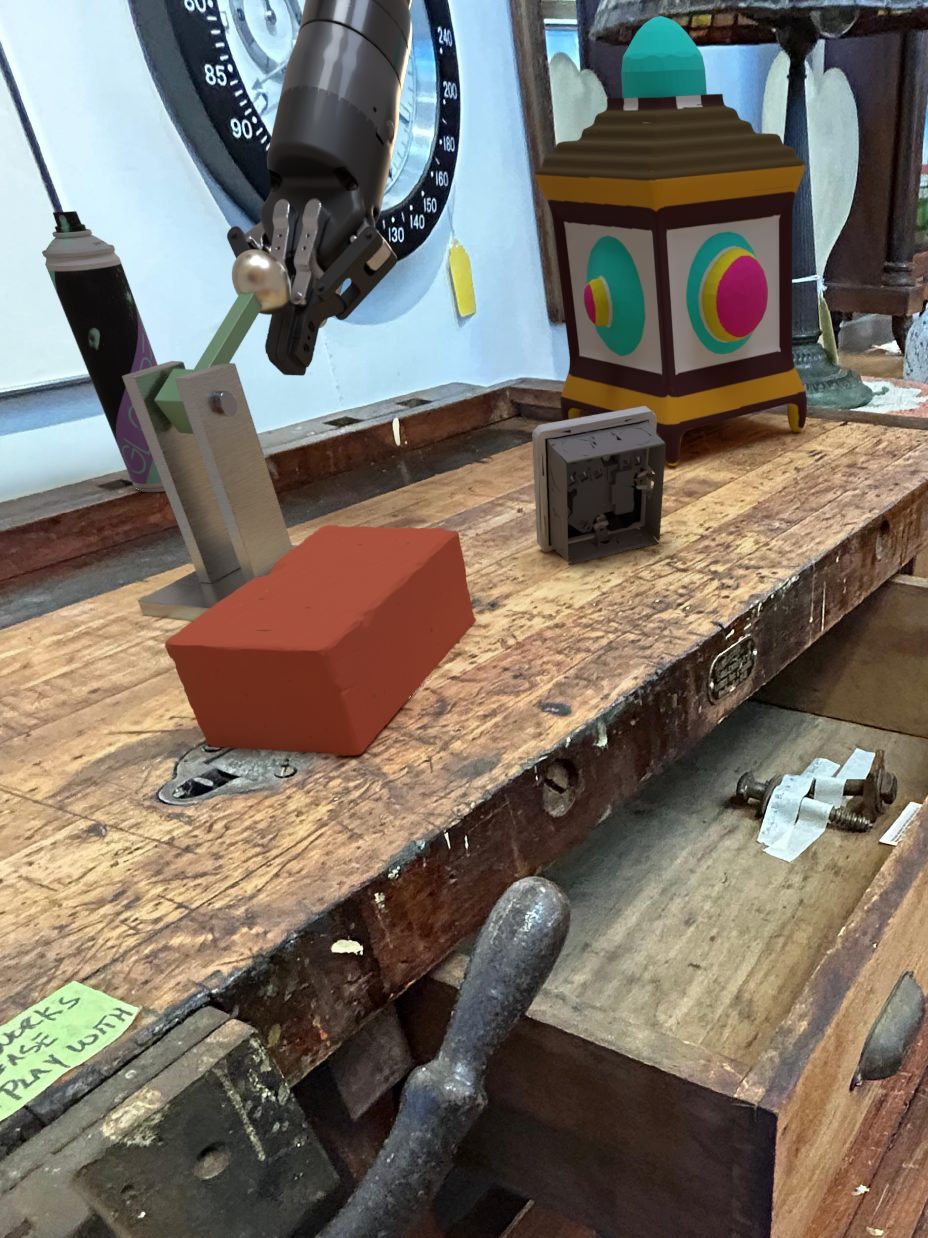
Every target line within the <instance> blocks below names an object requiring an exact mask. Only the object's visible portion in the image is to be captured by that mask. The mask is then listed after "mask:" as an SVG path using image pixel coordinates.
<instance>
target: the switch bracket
mask: <svg viewBox="0 0 928 1238" xmlns="http://www.w3.org/2000/svg"><path fill="white" fill-rule="evenodd" d="M173 369H187V368H186V365H185V363H184V361H181V360H180V361H179V360H170V361H166V362H164V363H163V362H162V363H159V364H158V365H156V366H153V367H150V368H147V369H143V370H140V371H137V372H133V373H130V374H127V375H123V376H122V378H123V381H124V383H125V386H126V388H127V391H128V394H129V396H130V399H131V402H132V404H133V407H134V410H135V412H136V415H137V418H138V420H139V423H140V425H141V428H142V431H143V433H144V436H145V439H146V441H147V444H148V447H149V449H150V452H151V454H152V457H153V460H154V462H155V465H156V468H157V470H158V473H159V476H160V478H161V481H162V483H163V486H164V489H165V491H164V492H165V495H166V497H167V499H168V502H169V505H170V507H171V509H172V513H173V515H174V517H175V520H176V524H177V526H178V528H179V531H180V534H181V536H182V540H183V541H184V544H185V546H186V550H187V553H188V555H189V557H190V559H191V563H192V566H193V567H194V571H192V572H191V573H188V574H186V575H184V576H182V577H181V578H179V579H177V580H175V581H173V582H170V583H169V584H167V585H165V586H163V587H161V588H159V589H157V590H156V591H154V592H152V593H150V594H148V595H146V596H144V597H142V598H140V599H139V600H137V603H138V605H139V608H140V610H141V612H142V615H143V616H147V617H156V618H164V619H173V620H181V621H188V622H189V621H191V622H192V621H194V620H195V619H196V618H198V617H199V616H200V615H202V614H203V613H204V612H206V611H207V610H209V609H210V608H211V607H213V606H214V605H215V604H217V603H218V602H220V601H221V600H223V599H224V598H226V597H227V596H229V595H230V594H232V593H233V592H235V591H236V590H237V589H239V588H241V587H242V586H243V585H245V584H246V583H247V582H249V581H251V580H252V579H254V578H259V577H263V576H267V575H269V574H270V573H271V571H272V568H273V566H274V565H275V564H276V563H277V562H278V560H279V559H281V558H282V557H283V556H285V555H286V554H287V553H288V552H290V551H291V550H293V549H294V548H295V547H297V546H298V545H295V544H292V541H291V538H290V535H289V531H288V529H287V526H286V521H285V519H284V516H283V513H282V509H281V506H280V503H279V499H278V496H277V493H276V490H275V487H274V483H273V480H272V477H271V474H270V471H269V468H268V463H267V461H266V457H265V455H264V451H263V449H262V448H263V447H262V445H261V442H260V439H259V436H258V433H257V430H256V426H255V422H254V420H253V417H252V413H251V410H250V407H249V404H248V400H247V397H246V394H245V391H244V388H243V384H242V381H241V377H240V375H239V372H238V368H237V364H236V363H235V362H230V363H220V364H217V365H214V366H211V367H208V368H205V369H202V370H199V371H195V372H192V373H189V374H186V375H183V376H180V377H177V378H175V381H176V384H177V387H178V390H179V393H180V396H181V399H182V401H183V404H184V407H185V410H186V413H187V416H188V419H189V422H190V424H191V427H192V430H193V433H194V434H186V433H179V432H178V431H177V429H176V428H175V427H174V426H173V424H172V423H171V422H170V420H169V419H168V418H167V416H166V415H165V414H164V413H163V411H162V410H161V409H160V407H159V406H158V405H157V404H156V402H155V401H154V400H155V398H156V396H157V395H158V393H159V391H160V390H161V388H162V387H163V385H164V383H165V382H166V380H167V378H168V377H169V375H170V374H171V372H172V370H173Z"/></svg>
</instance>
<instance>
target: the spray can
mask: <svg viewBox="0 0 928 1238" xmlns="http://www.w3.org/2000/svg"><path fill="white" fill-rule="evenodd" d="M52 215H53V218H54V221H55V225H56V226H54V230H55V231H52V236H53V237H54V238H53V239H52V240H51V241H50V243H49V244H48V246H47V247H46V248H45V249H44V250H42V251H41V253H42V257H44V258H45V263H44V265H45V268H46V270H47V272H48V275H49V277H50V280H51V282H52V285H53V288H54V290H55V293H56V295H57V297H58V299H59V302H60V306H61V307H62V310H63V312H64V315H65V317H66V320H67V324H68V325H69V327H70V330H71V333H72V335H73V337H74V341H75V343H76V345H77V348H78V350H79V352H80V355H81V358H82V361H83V363H84V366H85V368H86V371H87V373H88V375H89V378H90V380H91V383H92V385H93V388H94V390H95V393H96V396H97V398H98V401H99V403H100V405H101V408H102V411H103V413H104V415H105V418H106V420H107V423H108V426H109V428H110V430H111V433H112V435H113V438H114V440H115V443H116V445H117V448H118V450H119V454H120V456H121V458H122V461H123V463H124V466H125V469H126V471H127V473H128V476H129V478H130V481H131V483H132V485H133V488H134V487H135V488H137V489H139V490H141V491H142V493H162V492H164V493H165V492H166V491H165V489H164V486H163V483H162V481H161V478H160V476H159V473H158V470H157V468H156V465H155V462H154V460H153V457H152V454H151V452H150V449H149V447H148V444H147V441H146V439H145V436H144V433H143V431H142V428H141V425H140V423H139V420H138V418H137V415H136V412H135V410H134V407H133V404H132V402H131V399H130V396H129V394H128V391H127V388H126V386H125V383H124V381H123V378H122V376H123V375H127V374H130V373H133V372H137V371H140V370H143V369H147V368H150V367H153V366H156V365H159V364H158V362H157V361H158V360H157V359H156V356H155V353H154V351H153V348H152V345H151V342H150V339H149V336H148V334H147V330H146V328H145V325H144V322H143V319H142V317H141V314H140V312H139V309H138V305H137V303H136V300H135V297H134V294H133V292H132V289H131V286H130V283H129V280H128V278H127V275H126V272H125V270H124V267H123V264H122V261H121V259H120V257H119V256H118V255H117V253H116V249H115V248H116V247H115V245H113V244H109V243H108V242H106V241H104V240H102V239H101V238H99V237H97V236H96V235H93V232H92V229H90V228H87V227H86V224H83V223H82V221H81V219H80V217H79V214H78V212H77V211H76V210H74V211H73V210H72V211H53V212H52ZM135 488H134V489H135ZM141 491H140V492H141Z"/></svg>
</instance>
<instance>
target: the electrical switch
mask: <svg viewBox="0 0 928 1238" xmlns="http://www.w3.org/2000/svg"><path fill="white" fill-rule="evenodd" d="M656 426H657V417H656V415H655V414H654V412H652V411H651V410H650V409H648V408H647V407H646V406H642V407H637V408H631V409H626V410H620V411H614V412H609V413H603V414H593V415H587V416H581V418H575V419H570V420H564V421H563V420H559V421H554V422H548V423H542V424H538V425H537V426H536V428H534V430H533V432H532V434H531V437H532V438H531V439H532V440H531V441H532V459H533V460H532V461H533V463H532V464H533V481H534V485H533V486H534V503H535V505H534V506H535V527H536V543H537V544H538V546H539V547H540V549H541V551H542V552H543V553H548V552H552V551H555V552H556V554H558V555H560V556H561V557H562V558H563V560H565V561H566V562H567V563H568V565H574V564H578V563H582V562H586V561H590V560H595V559H598V558H602V557H607V556H611V554H612V555H615V554H614V553H616V554H619V553H624V552H626V551H625V550H628V551H632V549H633V550H636V548H637V549H641V548H644V547H643V546H645V547H649V546H653V545H652V544H654V545H657V543H658V544H659V543H660V541H661V526H662V511H663V494H664V478H665V464H666V463H665V462H666V460H665V450H666V444H665V442H664V441H663V440H662V439H661V438H660V436H659V435H658V433H656ZM652 482H653V484H652ZM605 541H608V543H602V542H605ZM640 547H641V548H640ZM623 551H624V552H623ZM569 559H572V560H571V561H569Z"/></svg>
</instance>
